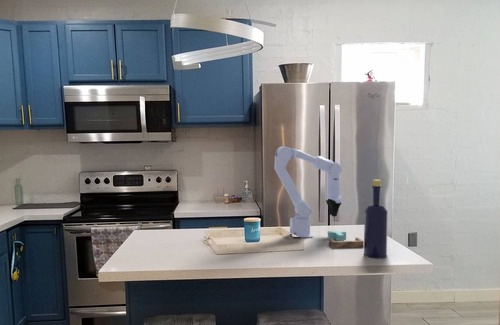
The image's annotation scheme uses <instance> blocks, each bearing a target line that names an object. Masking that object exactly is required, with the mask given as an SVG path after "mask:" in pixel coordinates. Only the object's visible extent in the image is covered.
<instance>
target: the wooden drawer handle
mask: <svg viewBox="0 0 500 325" xmlns="http://www.w3.org/2000/svg"><path fill="white" fill-rule="evenodd" d="M328 244H329V246H331V248H333V249H340V248H341V249H342V248H344V249H345V248H346V249H347V248H364V240H363V239H361V238H359V237H355V240H344V241H337V240H335V239H332V238H328Z"/></svg>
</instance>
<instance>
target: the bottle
mask: <svg viewBox="0 0 500 325" xmlns="http://www.w3.org/2000/svg"><path fill="white" fill-rule="evenodd" d="M381 181H382V180H381V179H373V180H372V187H371V188H372V204H369V205H368V206H367V207H366V208H365V210H364V226H363V228H364V230H363V234H364V236H363V241H364V245H363V255H364V256H365V255H366V257H367V256H368V257H367V258H371V259H378V258H379V259H386V258H387V257H388V224H389V223H388V219H389V216H388V212H389V211H388V209H387V208H386V206H385V205H381V204H380V203H381V189H382V186H381Z"/></svg>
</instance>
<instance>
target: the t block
mask: <svg viewBox="0 0 500 325" xmlns="http://www.w3.org/2000/svg"><path fill="white" fill-rule="evenodd" d="M329 238H332V239H333V240H335V241H345V239H346V240H347V232H346V231H345V230H333V231H332V230H330V231H327V239H329Z"/></svg>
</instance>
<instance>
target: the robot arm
mask: <svg viewBox="0 0 500 325" xmlns="http://www.w3.org/2000/svg"><path fill="white" fill-rule="evenodd" d="M291 159H300V160H302V161H306V162H309V163H311V164H312V166H313V167H314V168H316V169H318V170H320V171H323V172H326V173H327V191H326V192H327V194H326V200H325V202H326V205H327V207H328V212H329V215H330V216H331V217H337V215H338V212H339V209H340V207H341V204H342V201H341V199H342V198H343V196H341V194H340V193H341V190H340V189H341V182H340V181H341V179H340V176H341V173H342V171H343V169H342V166H341V165H340V163H338V162H334V161H333V160H332V159H328V158H324V156H323V155H317V156H313V155H311V154H308V153H306V152H304V151H302V150H299V149H296V148H292V147H289V146H284V145H283V146H279V147H278V148H277V149H276V151H275V154H274V165H273V166H274V167H273V168H274V171H275V172H276V175H277V176H278V179H279V180H280V182H281V184H282V185H283V187H284V189H285V191H286V193H287V194H288V196H289V198H290V200H291V202H292V204H293V206H294V207H293V208H294V209H293V210H294V211H295V212H294V213H295V215H294V216H293V217H290V219H289V234H290V233H292V234H294V235H296V236H298V237H301V238H313V235H312V234H311V215H312V208H311V206H309V205H308V204H307V203H306V201H305V199H303V197H302V196H301V194H300V192H299V190H298V189H297V186H296V184H295V183H294V181H293V179H292V177H291V176H290V173H289V172H288V170H287V169H286V168H287V165H288V162H289V161H290V160H291Z"/></svg>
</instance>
